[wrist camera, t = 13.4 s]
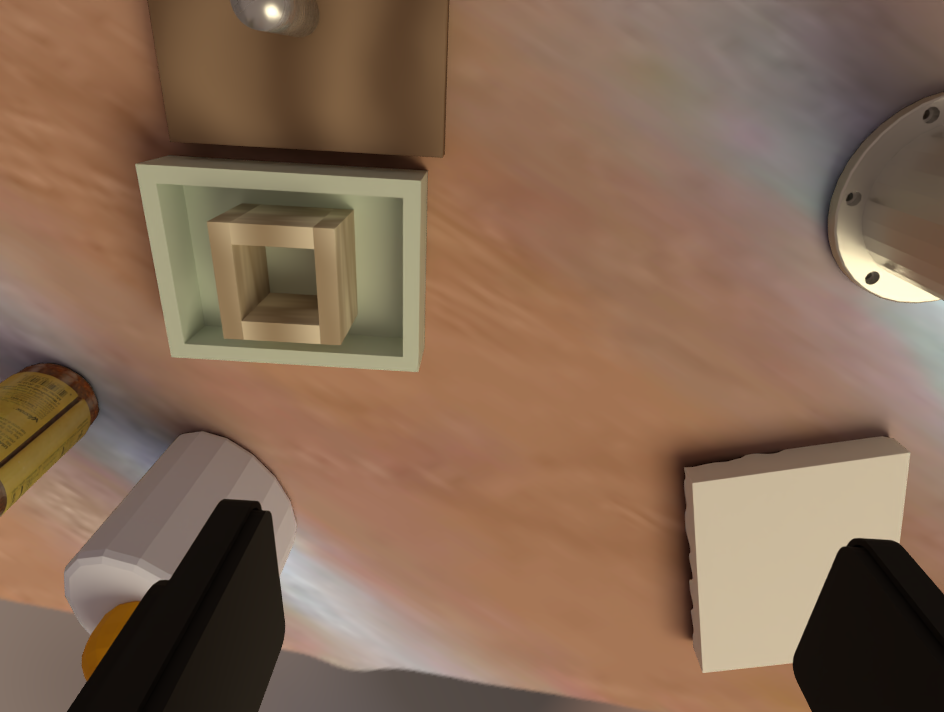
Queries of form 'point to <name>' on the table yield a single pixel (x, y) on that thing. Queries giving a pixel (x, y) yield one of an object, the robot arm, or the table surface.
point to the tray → (291, 255)
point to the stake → (278, 15)
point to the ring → (247, 280)
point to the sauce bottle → (39, 424)
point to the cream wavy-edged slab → (780, 540)
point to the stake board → (307, 77)
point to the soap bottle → (165, 531)
